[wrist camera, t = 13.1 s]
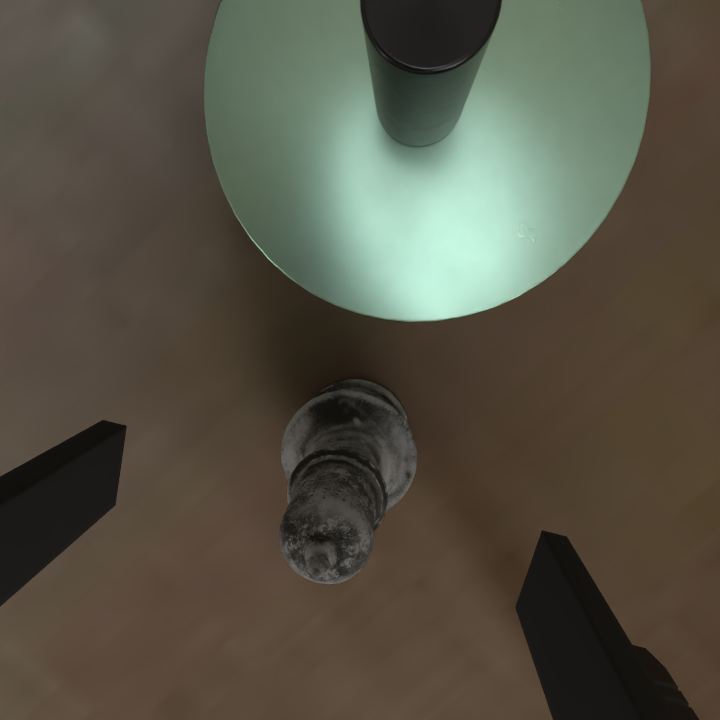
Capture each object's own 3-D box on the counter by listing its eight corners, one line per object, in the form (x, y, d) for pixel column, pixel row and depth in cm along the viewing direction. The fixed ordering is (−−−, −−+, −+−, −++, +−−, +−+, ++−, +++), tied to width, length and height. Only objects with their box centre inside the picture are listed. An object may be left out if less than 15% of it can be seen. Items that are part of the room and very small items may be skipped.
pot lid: (150, -5, 15) (-40, -211, 8) (555, -214, 13) (702, -673, 7) (308, 373, 17) (250, 440, 10) (685, 230, 15) (902, 202, 8)
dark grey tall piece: (361, 508, 26) (327, 709, 14) (273, 433, 26) (164, 576, 14) (439, 427, 25) (475, 572, 13) (349, 347, 24) (302, 423, 13)
